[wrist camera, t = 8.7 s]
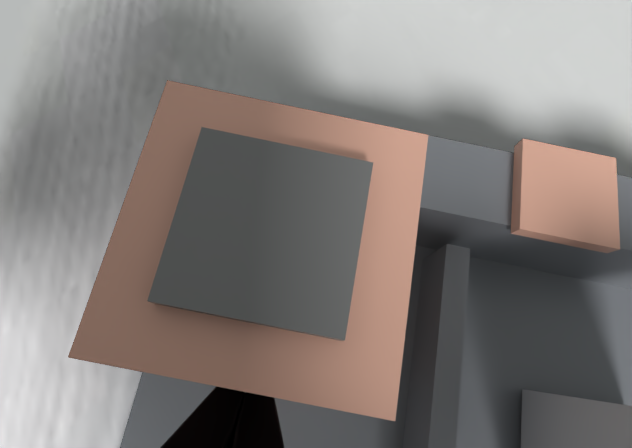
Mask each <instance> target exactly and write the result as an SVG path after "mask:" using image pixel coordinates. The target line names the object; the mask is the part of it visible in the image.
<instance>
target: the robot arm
mask: <svg viewBox="0 0 632 448" xmlns="http://www.w3.org/2000/svg"><path fill="white" fill-rule="evenodd" d="M160 448H285V447H284V442H283V437H282V432H281V427H280V422H279V417H278V412H277V407H276V402H275V398H274V397H268V396H263V395H258V394H253V393H248V392H243V391H238V390H233V389H228V388H222V387H217V386H216V387H215V388H214V389H213V390H212V391H211V392H210V394H209V395H208V396H207V397H206V398H205V399H204V400H203V401H202V402H201V403H200V404H199V405H198V407H197V408H196V409H195V410H194V411H193V412H192V413H191V414H190V415H189V416H188V417H187V419H186V420H185V421H184V422H183V423H182V424H181V425H180V426H179V427H178V428H177V429H176V430H175V432H174V433H173V434H172V435H171V436H170V437H169V438H168V439H167V440H166V441H165V442H164V444H163V445H162V446H161V447H160Z"/></svg>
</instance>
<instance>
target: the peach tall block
mask: <svg viewBox="0 0 632 448" xmlns="http://www.w3.org/2000/svg"><path fill="white" fill-rule="evenodd" d="M427 143H428V135H427V134H422V133H417V132H412V131H407V130H403V129H398V128H393V127H388V126H384V125H379V124H374V123H369V122H364V121H360V120H355V119H350V118H345V117H340V116H336V115H331V114H326V113H321V112H317V111H312V110H307V109H302V108H297V107H293V106H288V105H283V104H278V103H273V102H269V101H264V100H259V99H254V98H250V97H245V96H240V95H235V94H230V93H226V92H221V91H216V90H211V89H206V88H202V87H197V86H192V85H187V84H183V83H178V82H173V81H168V80H167V82H166V85H165V88H164V91H163V93H162V96H161V99H160V102H159V105H158V107H157V110H156V113H155V116H154V118H153V121H152V124H151V127H150V130H149V132H148V135H147V138H146V141H145V144H144V146H143V149H142V152H141V155H140V158H139V160H138V163H137V166H136V169H135V172H134V174H133V177H132V180H131V183H130V186H129V188H128V191H127V194H126V197H125V200H124V202H123V205H122V208H121V211H120V213H119V216H118V219H117V222H116V225H115V227H114V230H113V233H112V236H111V239H110V241H109V244H108V247H107V250H106V253H105V255H104V258H103V261H102V264H101V267H100V269H99V272H98V275H97V278H96V281H95V283H94V286H93V289H92V292H91V294H90V297H89V300H88V303H87V306H86V308H85V311H84V314H83V317H82V320H81V322H80V325H79V328H78V331H77V334H76V336H75V339H74V342H73V345H72V348H71V350H70V353H69V356H68V357H69V358H74V359H79V360H84V361H90V362H95V363H100V364H105V365H110V366H115V367H120V368H125V369H130V370H136V371H141V372H146V373H151V374H156V375H161V376H166V377H171V378H176V379H182V380H187V381H192V382H197V383H202V384H207V385H212V386H217V387H222V388H228V389H233V390H238V391H243V392H248V393H253V394H258V395H263V396H268V397H274V398H279V399H284V400H289V401H294V402H299V403H304V404H309V405H314V406H320V407H325V408H330V409H335V410H340V411H345V412H350V413H355V414H360V415H366V416H371V417H376V418H381V419H386V420H391V421H395V419H396V410H397V402H398V393H399V385H400V376H401V367H402V359H403V350H404V342H405V333H406V324H407V316H408V307H409V298H410V290H411V281H412V273H413V264H414V255H415V247H416V238H417V230H418V221H419V212H420V204H421V195H422V186H423V178H424V169H425V161H426V152H427Z"/></svg>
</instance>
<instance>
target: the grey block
mask: <svg viewBox="0 0 632 448" xmlns="http://www.w3.org/2000/svg"><path fill="white" fill-rule="evenodd" d="M521 448H632V406H628V405H622V404H615V403H609V402H602V401H596V400H589V399H583V398H576V397H570V396H563V395H557V394H550V393H544V392H537V391H531V390H524V389H522V418H521Z"/></svg>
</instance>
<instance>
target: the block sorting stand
mask: <svg viewBox="0 0 632 448" xmlns="http://www.w3.org/2000/svg"><path fill="white" fill-rule="evenodd" d="M215 387H216V386H212V385H207V384H202V383H197V382H192V381H187V380H182V379H176V378H171V377H166V376H161V375H156V374H151V373H146V372H143V373H142V376H141V379H140V383H139V386H138V389H137V393H136V396H135V399H134V403H133V406H132V409H131V413H130V416H129V419H128V423H127V426H126V429H125V433H124V436H123V439H122V443H121V446H120V448H160V447H161V446H162V445H163V444H164V442H165V441H166V440H167V439H168V438H169V437H170V436H171V435H172V434H173V433H174V432H175V430H176V429H177V428H178V427H179V426H180V425H181V424H182V423H183V422H184V421H185V420H186V419H187V417H188V416H189V415H190V414H191V413H192V412H193V411H194V410H195V409H196V408H197V407H198V405H199V404H200V403H201V402H202V401H203V400H204V399H205V398H206V397H207V396H208V395H209V394H210V392H211V391H212V390H213V389H214V388H215ZM522 389H524V390H531V391H537V392H544V393H550V394H557V395H563V396H570V397H576V398H583V399H589V400H596V401H602V402H609V403H615V404H622V405H628V406H632V177H627V176H622V175H617V166H616V158H614V157H609V156H604V155H599V154H595V153H590V152H585V151H580V150H576V149H571V148H566V147H561V146H557V145H552V144H547V143H542V142H537V141H533V140H528V139H522V140H521V141H520V142H518V143H517V144H516V145H515V146H514V153H512V152H507V151H502V150H498V149H493V148H488V147H483V146H478V145H474V144H469V143H464V142H459V141H454V140H450V139H445V138H440V137H435V136H431V135H428V143H427V152H426V161H425V169H424V178H423V186H422V195H421V204H420V212H419V221H418V230H417V238H416V247H415V255H414V264H413V273H412V281H411V290H410V298H409V307H408V316H407V324H406V333H405V342H404V350H403V359H402V367H401V376H400V385H399V393H398V402H397V410H396V419H395V421H391V420H386V419H381V418H376V417H371V416H366V415H360V414H355V413H350V412H345V411H340V410H335V409H330V408H325V407H320V406H314V405H309V404H304V403H299V402H294V401H289V400H284V399H279V398H275V402H276V407H277V412H278V417H279V422H280V427H281V432H282V437H283V442H284V447H285V448H521V418H522Z"/></svg>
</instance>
